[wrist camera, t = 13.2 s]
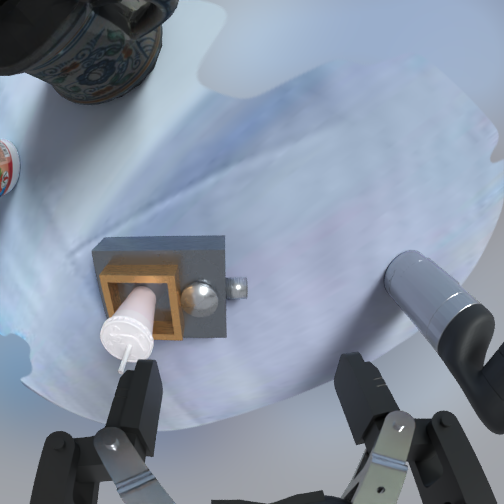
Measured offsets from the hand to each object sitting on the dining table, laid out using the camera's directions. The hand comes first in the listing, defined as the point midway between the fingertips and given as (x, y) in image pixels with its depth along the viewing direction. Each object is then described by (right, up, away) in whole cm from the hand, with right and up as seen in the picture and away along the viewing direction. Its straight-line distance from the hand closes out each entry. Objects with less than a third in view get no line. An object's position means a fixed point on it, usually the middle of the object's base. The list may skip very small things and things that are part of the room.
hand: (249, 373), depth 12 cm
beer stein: (-18, +33, +17) cm, 41 cm away
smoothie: (-15, -1, +27) cm, 31 cm away
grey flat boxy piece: (-11, +1, +32) cm, 34 cm away
